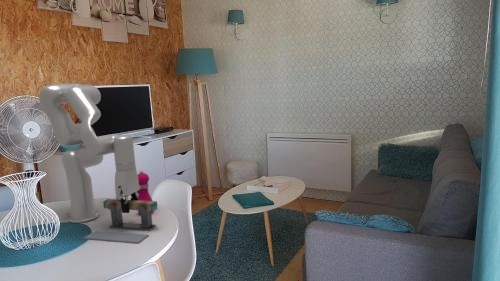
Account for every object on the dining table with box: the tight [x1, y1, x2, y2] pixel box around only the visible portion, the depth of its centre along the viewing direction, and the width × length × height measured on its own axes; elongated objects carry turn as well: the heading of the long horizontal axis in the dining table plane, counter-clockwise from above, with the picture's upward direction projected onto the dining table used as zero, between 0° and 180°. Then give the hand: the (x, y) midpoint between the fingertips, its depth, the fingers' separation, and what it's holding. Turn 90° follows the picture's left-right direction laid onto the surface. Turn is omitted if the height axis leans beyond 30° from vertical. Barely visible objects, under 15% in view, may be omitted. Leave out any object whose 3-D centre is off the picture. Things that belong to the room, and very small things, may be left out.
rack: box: [107, 204, 157, 232], centre depth 155 cm, size 19×5×10 cm, turn 73°
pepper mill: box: [137, 169, 154, 216], centre depth 171 cm, size 7×7×20 cm
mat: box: [83, 230, 150, 245], centre depth 146 cm, size 24×7×1 cm, turn 73°
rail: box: [102, 198, 158, 212], centre depth 155 cm, size 23×3×3 cm, turn 73°
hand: (130, 209), depth 155 cm, fingers open, 5 cm apart
